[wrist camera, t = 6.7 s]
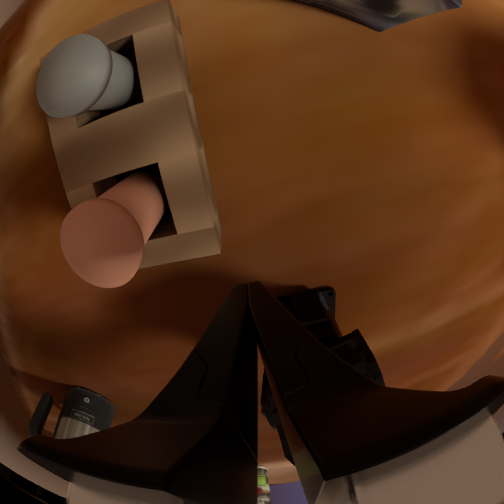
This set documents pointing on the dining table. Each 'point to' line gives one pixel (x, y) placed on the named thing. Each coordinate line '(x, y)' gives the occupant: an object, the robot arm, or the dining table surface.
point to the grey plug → (86, 78)
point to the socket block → (146, 137)
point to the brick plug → (113, 230)
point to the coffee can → (263, 486)
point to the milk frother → (74, 414)
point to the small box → (384, 10)
